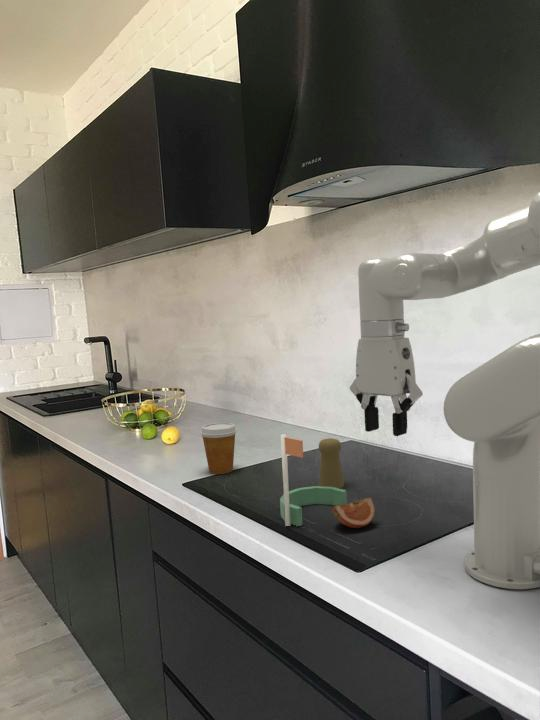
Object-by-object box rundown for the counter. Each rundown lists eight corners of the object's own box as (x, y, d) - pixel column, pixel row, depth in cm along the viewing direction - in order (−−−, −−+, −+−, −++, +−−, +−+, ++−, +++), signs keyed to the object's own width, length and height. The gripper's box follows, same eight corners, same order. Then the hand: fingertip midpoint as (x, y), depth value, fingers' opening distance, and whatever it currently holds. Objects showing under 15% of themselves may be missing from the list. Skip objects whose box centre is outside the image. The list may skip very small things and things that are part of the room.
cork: (349, 484, 138) (347, 438, 137) (334, 490, 134) (332, 443, 133) (328, 479, 142) (326, 435, 141) (313, 486, 138) (311, 440, 137)
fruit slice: (343, 536, 108) (342, 510, 107) (325, 524, 114) (324, 499, 113) (381, 527, 111) (380, 501, 111) (362, 516, 117) (361, 492, 117)
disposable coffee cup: (232, 464, 161) (230, 420, 160) (243, 472, 152) (241, 427, 151) (199, 469, 158) (196, 425, 157) (208, 478, 149) (205, 431, 148)
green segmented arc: (358, 510, 120) (355, 423, 119) (304, 533, 110) (299, 438, 108) (315, 497, 130) (312, 417, 128) (261, 517, 119) (256, 430, 117)
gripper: (437, 328, 99) (440, 434, 100) (357, 329, 111) (361, 423, 113) (411, 331, 94) (414, 443, 95) (331, 332, 106) (335, 430, 108)
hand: (385, 431), depth 104 cm, fingers open, 5 cm apart
